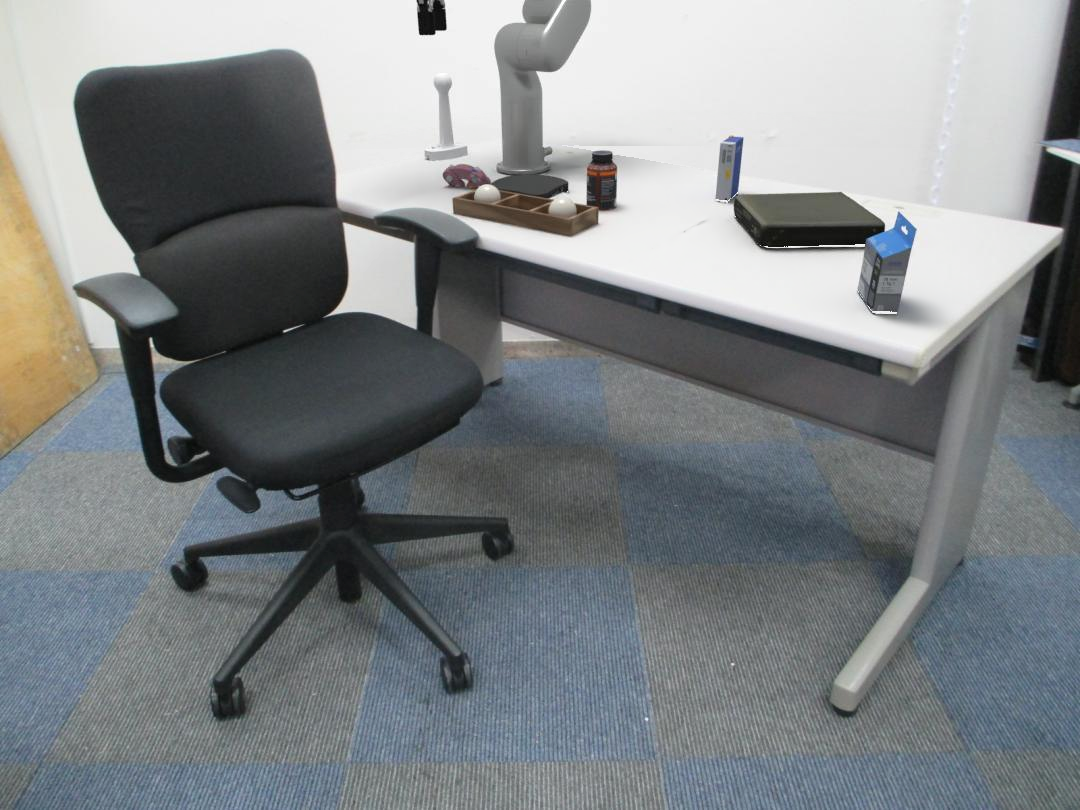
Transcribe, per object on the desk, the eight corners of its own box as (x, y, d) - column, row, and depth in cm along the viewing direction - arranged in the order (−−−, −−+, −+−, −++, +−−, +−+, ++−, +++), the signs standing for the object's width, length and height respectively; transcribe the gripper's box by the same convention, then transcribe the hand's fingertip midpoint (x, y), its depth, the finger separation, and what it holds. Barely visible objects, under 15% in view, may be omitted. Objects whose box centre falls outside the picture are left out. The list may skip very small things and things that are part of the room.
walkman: (724, 192, 174) (730, 134, 168) (737, 194, 173) (743, 135, 167) (714, 201, 168) (719, 141, 162) (727, 203, 166) (733, 142, 161)
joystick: (434, 161, 203) (427, 75, 194) (417, 156, 208) (410, 72, 199) (470, 155, 210) (466, 71, 200) (453, 150, 215) (448, 68, 205)
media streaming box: (517, 183, 184) (517, 170, 183) (574, 191, 178) (575, 177, 176) (481, 198, 173) (480, 184, 172) (541, 207, 167) (541, 192, 165)
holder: (484, 206, 167) (483, 187, 165) (598, 227, 153) (598, 207, 151) (453, 217, 160) (452, 197, 158) (569, 240, 146) (570, 219, 144)
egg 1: (485, 206, 164) (484, 180, 161) (506, 210, 161) (505, 183, 159) (469, 212, 160) (467, 185, 158) (490, 216, 157) (489, 189, 155)
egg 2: (558, 219, 155) (558, 192, 152) (581, 224, 152) (582, 196, 150) (542, 226, 151) (542, 198, 149) (566, 231, 148) (566, 202, 146)
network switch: (896, 249, 141) (901, 220, 139) (766, 258, 138) (770, 229, 135) (831, 212, 161) (836, 186, 159) (717, 219, 158) (720, 193, 156)
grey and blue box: (855, 291, 123) (870, 210, 117) (882, 292, 122) (898, 210, 117) (870, 314, 115) (887, 228, 109) (899, 315, 115) (918, 229, 109)
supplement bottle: (622, 209, 163) (624, 151, 158) (603, 216, 159) (604, 156, 154) (599, 204, 167) (600, 147, 161) (580, 210, 163) (580, 152, 158)
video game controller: (446, 196, 181) (437, 170, 175) (454, 182, 183) (445, 156, 177) (486, 199, 177) (479, 173, 172) (494, 185, 180) (487, 159, 174)
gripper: (434, -68, 147) (441, 36, 155) (455, -67, 162) (460, 28, 170) (394, -67, 148) (403, 37, 156) (418, -66, 163) (425, 29, 171)
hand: (433, 32), depth 163 cm, fingers open, 9 cm apart
